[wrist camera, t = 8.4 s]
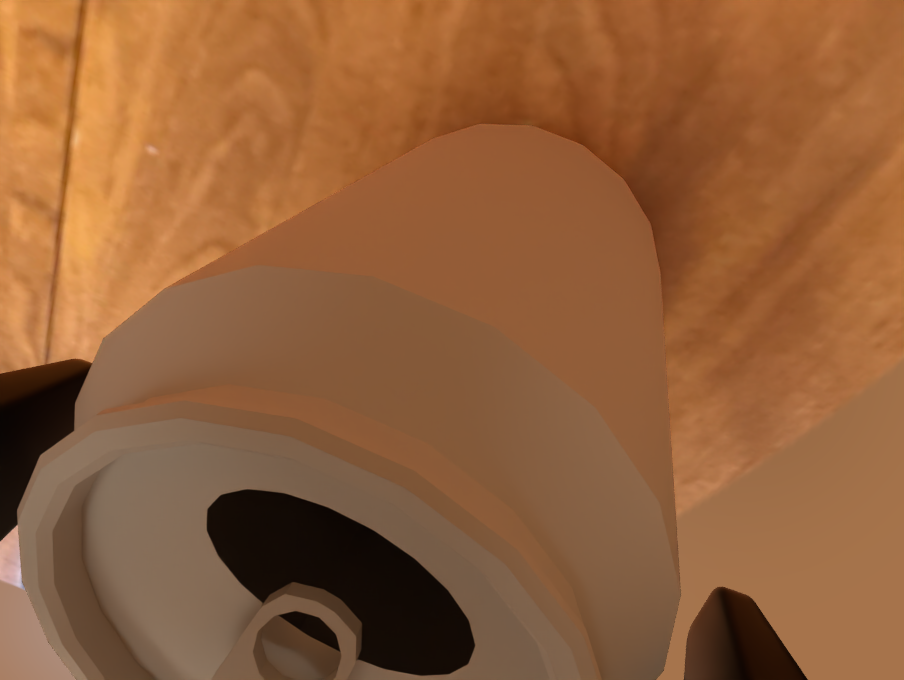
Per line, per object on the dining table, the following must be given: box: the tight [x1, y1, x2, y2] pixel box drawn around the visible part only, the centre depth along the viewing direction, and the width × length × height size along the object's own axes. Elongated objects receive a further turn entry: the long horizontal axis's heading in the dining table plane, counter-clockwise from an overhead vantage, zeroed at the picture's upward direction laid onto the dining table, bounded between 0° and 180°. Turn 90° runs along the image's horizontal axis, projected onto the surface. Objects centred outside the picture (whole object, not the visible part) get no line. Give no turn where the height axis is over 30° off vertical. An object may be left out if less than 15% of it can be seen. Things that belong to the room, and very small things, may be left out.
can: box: [17, 124, 681, 680], centre depth 11 cm, size 8×8×12 cm
